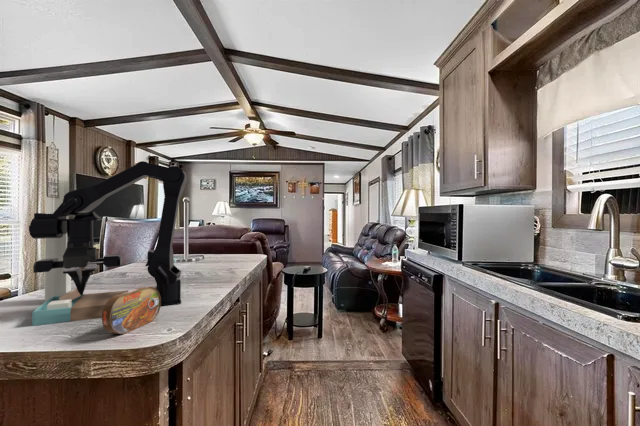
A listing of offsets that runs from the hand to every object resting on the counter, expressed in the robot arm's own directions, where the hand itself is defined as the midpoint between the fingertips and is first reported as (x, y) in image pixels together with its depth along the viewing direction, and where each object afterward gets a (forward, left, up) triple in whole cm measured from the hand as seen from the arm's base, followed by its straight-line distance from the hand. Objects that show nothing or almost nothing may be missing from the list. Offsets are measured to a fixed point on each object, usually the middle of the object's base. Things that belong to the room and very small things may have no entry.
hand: (81, 294), depth 87 cm
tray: (+4, +4, -4) cm, 7 cm away
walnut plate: (-5, +4, -4) cm, 8 cm away
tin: (-13, +24, -4) cm, 27 cm away
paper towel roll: (+8, -12, -4) cm, 15 cm away
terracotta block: (+2, 0, -1) cm, 2 cm away
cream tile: (+3, +8, -2) cm, 9 cm away
